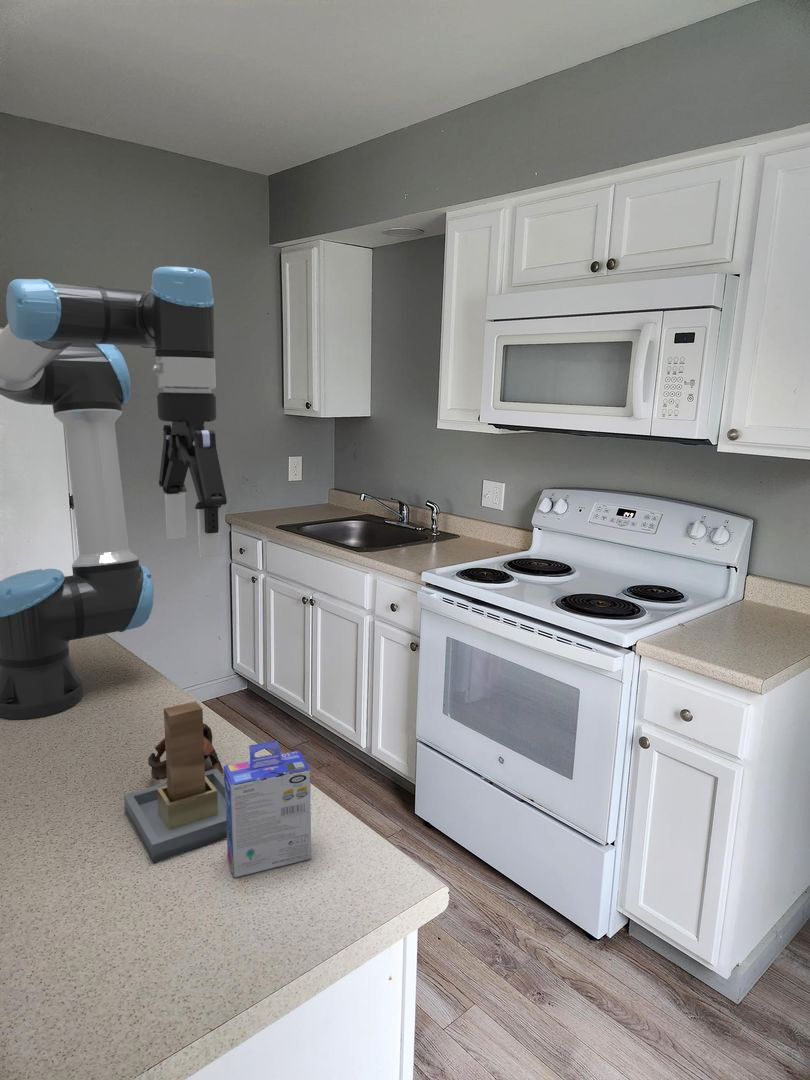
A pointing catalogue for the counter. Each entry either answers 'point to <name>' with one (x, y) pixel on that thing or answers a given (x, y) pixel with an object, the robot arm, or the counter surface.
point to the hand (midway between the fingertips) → (192, 546)
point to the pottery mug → (160, 767)
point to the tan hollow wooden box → (187, 806)
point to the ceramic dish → (180, 839)
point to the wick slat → (184, 750)
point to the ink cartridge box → (267, 810)
